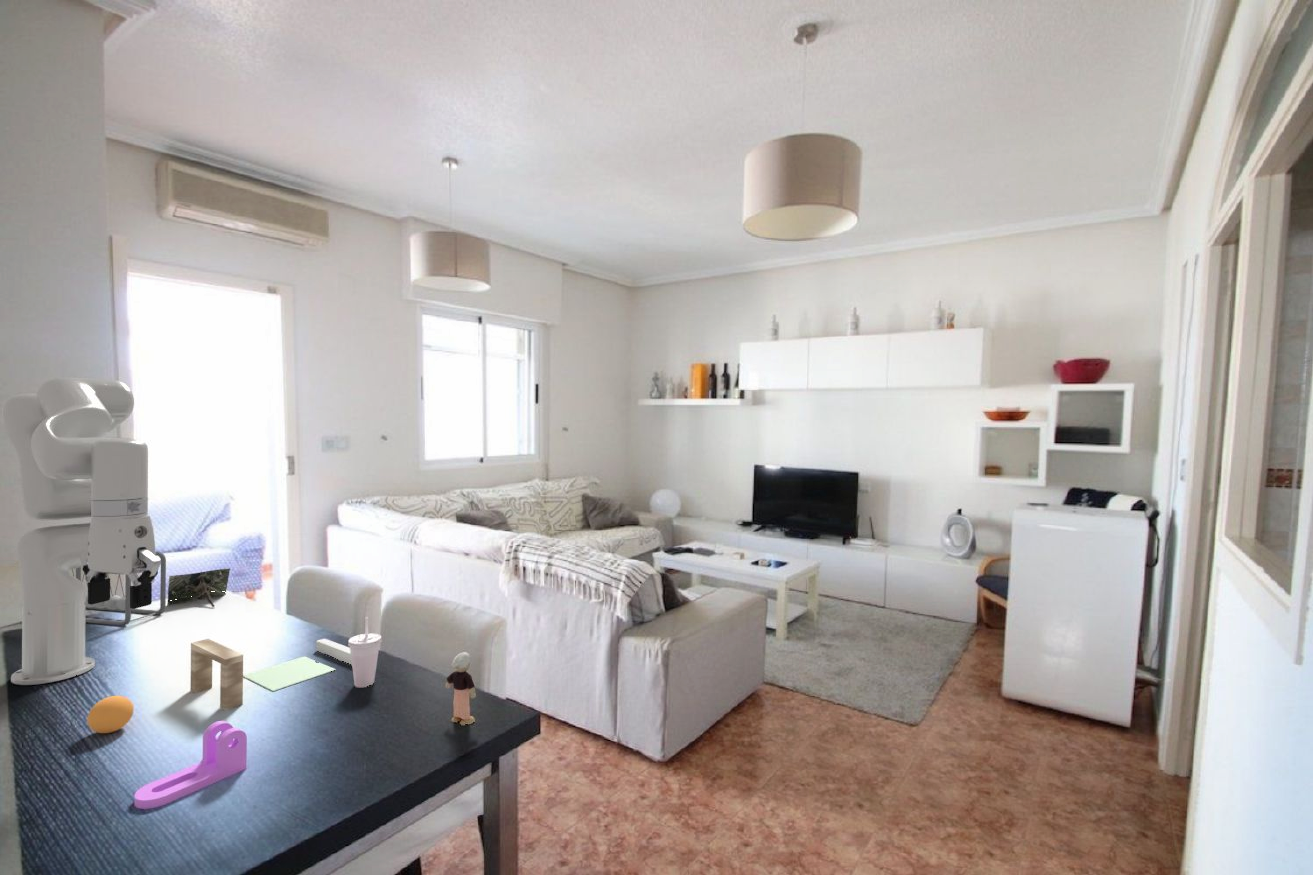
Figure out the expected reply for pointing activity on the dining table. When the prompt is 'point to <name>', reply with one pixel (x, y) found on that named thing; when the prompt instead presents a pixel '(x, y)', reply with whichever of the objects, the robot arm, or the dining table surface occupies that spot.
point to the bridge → (229, 673)
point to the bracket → (200, 767)
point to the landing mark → (288, 673)
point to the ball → (110, 714)
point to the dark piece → (197, 586)
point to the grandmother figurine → (461, 689)
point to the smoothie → (364, 656)
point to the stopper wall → (334, 650)
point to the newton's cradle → (126, 599)
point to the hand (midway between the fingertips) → (119, 604)
